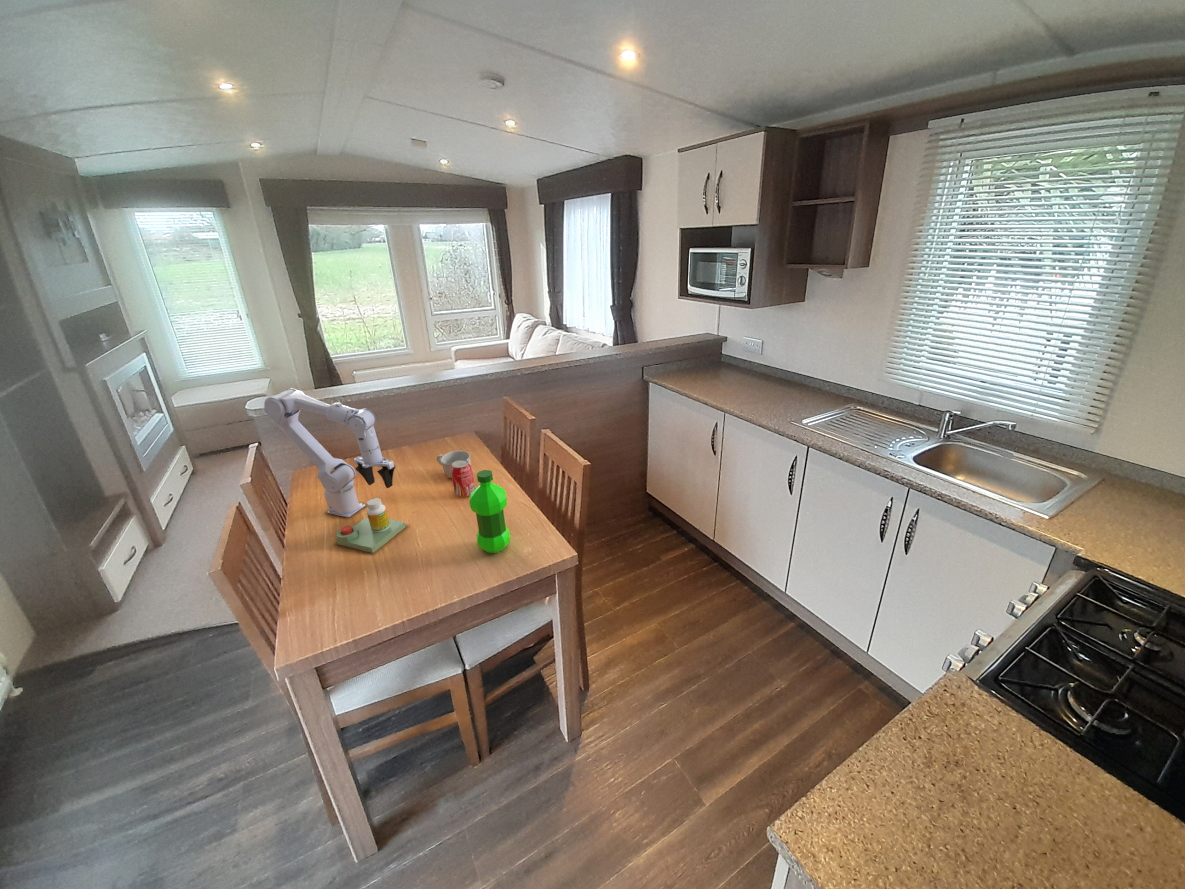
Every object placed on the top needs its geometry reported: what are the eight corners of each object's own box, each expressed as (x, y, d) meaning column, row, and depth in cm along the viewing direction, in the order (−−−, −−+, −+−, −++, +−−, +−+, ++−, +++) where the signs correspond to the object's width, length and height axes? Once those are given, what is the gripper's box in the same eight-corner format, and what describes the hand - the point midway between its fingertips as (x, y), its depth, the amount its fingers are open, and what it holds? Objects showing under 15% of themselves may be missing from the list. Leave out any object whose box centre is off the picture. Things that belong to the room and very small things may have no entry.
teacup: (478, 472, 184) (475, 453, 181) (457, 484, 176) (454, 465, 172) (453, 464, 191) (450, 446, 187) (432, 475, 183) (428, 457, 179)
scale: (334, 544, 144) (331, 535, 143) (370, 519, 157) (368, 510, 155) (371, 554, 140) (369, 544, 138) (405, 527, 152) (403, 518, 150)
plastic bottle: (518, 550, 139) (509, 475, 129) (484, 563, 134) (472, 486, 124) (505, 533, 147) (495, 461, 136) (472, 545, 142) (459, 471, 132)
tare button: (339, 534, 144) (338, 530, 143) (347, 528, 146) (346, 524, 146) (347, 536, 143) (345, 532, 142) (354, 530, 145) (353, 526, 145)
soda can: (456, 488, 173) (451, 459, 168) (476, 487, 173) (472, 458, 168) (453, 499, 167) (448, 468, 161) (473, 497, 167) (469, 467, 162)
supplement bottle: (383, 533, 146) (376, 506, 141) (367, 532, 147) (360, 505, 142) (393, 523, 150) (386, 497, 146) (378, 522, 151) (371, 496, 147)
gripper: (342, 450, 149) (354, 488, 155) (378, 455, 144) (389, 494, 150) (359, 441, 155) (370, 478, 161) (394, 445, 150) (404, 483, 156)
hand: (380, 485), depth 156 cm, fingers open, 7 cm apart
